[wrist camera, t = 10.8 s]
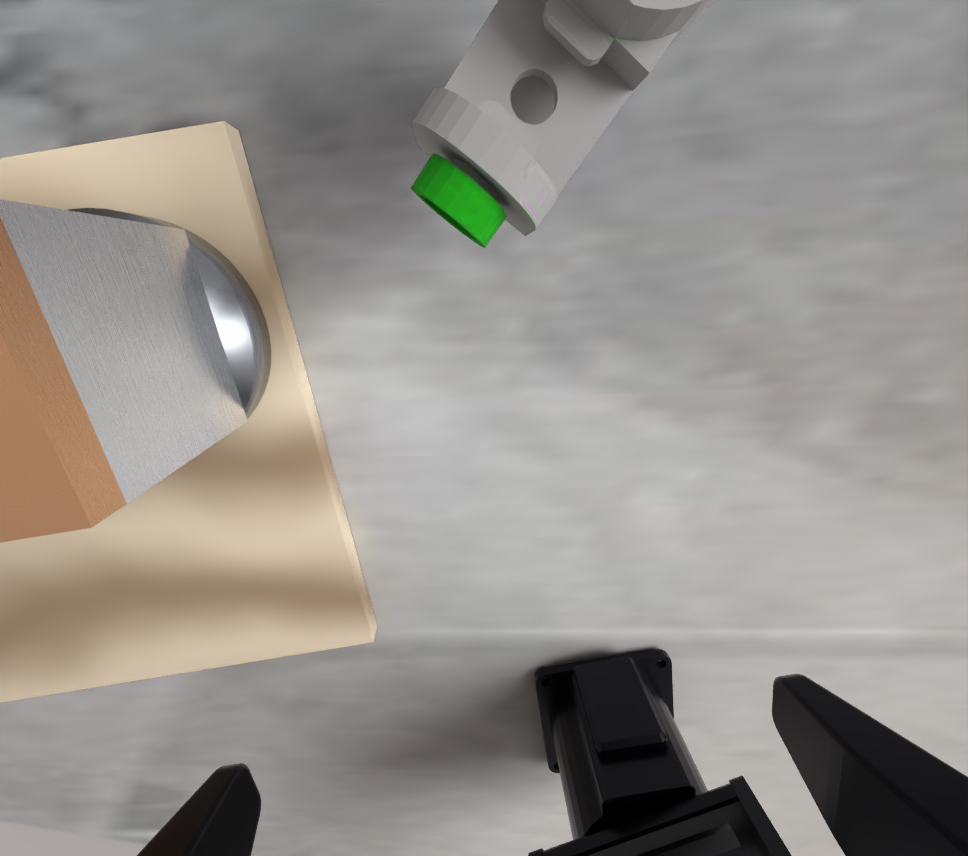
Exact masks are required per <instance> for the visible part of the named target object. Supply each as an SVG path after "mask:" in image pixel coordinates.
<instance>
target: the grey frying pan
mask: <svg viewBox="0 0 968 856" xmlns="http://www.w3.org/2000/svg"><path fill="white" fill-rule="evenodd" d="M68 210H69V211H75V212H81V213H87V214H93V215H99V216H105V217H111V218H117V219H123V220H129V221H135V222H141V223H147V224H154V225H160V226H166V227H172V228H178V229H184V228H182V227H180V226H178V225H175V224H173V223H170V222H167V221H164V220H160V219H157V218H153V217H147V216H142V215H137V214H131V213H126V212H121V211H115V210H110V209H101V208H78V209H68ZM184 230H185V233H186V236H187V239H188V242H189V245H190V248H191V251H192V254H193V257H194V260H195V263H196V266H197V269H198V272H199V275H200V278H201V281H202V284H203V287H204V290H205V293H206V296H207V299H208V302H209V305H210V308H211V311H212V314H213V317H214V320H215V324H216V327H217V330H218V333H219V336H220V339H221V342H222V345H223V348H224V351H225V354H226V357H227V360H228V363H229V366H230V369H231V372H232V375H233V378H234V381H235V384H236V387H237V390H238V393H239V396H240V399H241V402H242V405H243V408H244V411H245V414H246V417H247V419H248V418H249V417H250V416H251V414H252V413H253V411H254V410H255V409H256V407H257V406H258V404H259V402H260V400H261V398H262V396H263V394H264V392H265V389H266V386H267V383H268V380H269V374H270V368H271V343H270V335H269V331H268V327H267V322H266V319H265V317H264V314H263V311H262V308H261V306H260V304H259V302H258V300H257V298H256V296H255V294H254V292H253V290H252V289H251V287H250V286H249V284H248V283H247V281H246V280H245V278H244V277H243V276H242V274H241V273H240V272H239V271H238V270H237V268H236V267H235V266H234V265H233V264H232V263H231V262H230V261H229V260H228V259H227V258H226V257H225V256H224V255H223V254H222V253H221V252H220V251H219V250H217V249H216V248H215V247H213V246H212V245H211V244H209V243H208V242H207V241H205V240H204V239H202V238H201V237H199V236H197V235H196V234H194V233H192V232H191V231H189V230H186V229H184ZM231 433H232V432H231ZM228 435H229V434H228ZM225 437H226V436H225ZM222 439H223V438H222ZM218 442H219V441H218ZM215 444H216V443H215ZM212 446H213V445H212ZM209 448H210V447H209Z"/></svg>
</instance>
